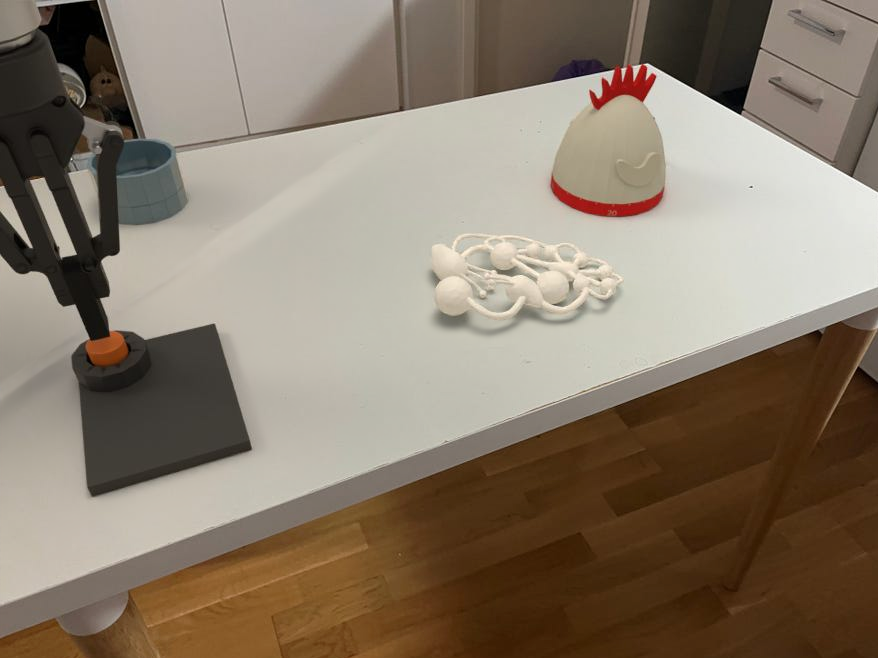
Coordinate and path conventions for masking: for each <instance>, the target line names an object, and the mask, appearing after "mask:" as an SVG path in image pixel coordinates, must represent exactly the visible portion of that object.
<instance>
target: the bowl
mask: <svg viewBox="0 0 878 658" xmlns="http://www.w3.org/2000/svg"><path fill="white" fill-rule="evenodd" d="M86 169H87V172H88V174H89V178H90V180H91V183H92V185H93V189H94V191H95V194H96V197H97V198H98V189H97V173H96V154H94V153H92V154H91V155H90V156H89V157H88V158H87V162H86ZM182 171H183V170H182V167H181V164H180V159H179V156H178V152H177V149H176V148H175V146H173V145H172V144H171V143H169V142H167V141H164V140H160V139H158V138H157V139H156V138H134V139H133V138H132V139H124V147H123V150H122V152H121V155H120V157H119V160H118V162H117V165H116V176H117V197H118V218H119V225H128V226H129V225H130V226H140V225H141V226H142V225H148V224H149V225H150V224H155V223H159V222H161V221H165V220H167V219H170V218H172V217H174V216H175V215H177V214H179V213H180V212H182V211H184V209H185V207H186V206H187V205H188V203H189V193H188V190H187V185H186V183H185V179H184V175H183V172H182Z"/></svg>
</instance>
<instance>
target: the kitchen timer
mask: <svg viewBox="0 0 878 658" xmlns="http://www.w3.org/2000/svg"><path fill="white" fill-rule="evenodd" d="M647 75H648V66H647V65H645V64H644V63H641V64H640V67H639V69H638V72H637V73H636V76H635V77H634V67H633V66H632V65H631V64H629V63H627V65H626V68H625V72H624V75H623V71H622V68H621V67H619V66H618V65H616V66H615V68H614V70H613V75H612V78H611V82H610V83H609V81H608V80H607V79H606V78H605V77H601V79H600V80H601V81H600V82H601V83H600V84H601V95H600V96H597V95H596V93H595V92H594V91H593V90H591V89H589V90H588V93H589V98H590V101H591V102H589V103H588V104H586V106H584V107H583V109H581V111H579V113H578V114H577V115H576V116H575V117H574V118H573V119H571V120H570V122H569V126H567V127H568V128H567V129H566V131H565V133H564V135H563V138H562V139H561V142H560V144H559V146H558V149H557V151H556V154H555V157H554V161H553V165H552V169H551V177H550V187H551V190H552V193H553V194H554V195H555V196H556V198H557V199H559V200H560V202H561V203H563V204H565V205H567V206H569V207H570V208H572V209H575V210H577V211H581V212H583V213H586V214H589V215H590V214H591V215H596V216H600V217H601V216H602V217H618V218H619V217H628V216H636V215H639V214H643V213H646V212H649V211H650V210H652V209H654V208H655V207H657V206H658V205H659V204H660V202H661V200H662V199H663V197H664V192H665V188H666V181H667V179H666V178H667V177H666V175H667V174H666V167H667V166H666V165H667V164H666V155H665V147H664V141H663V137H662V134H661V130H660V128H659V125H658V123H657V121H656V118H655V116H654V115H653V114H652V112H651V111H650V110H649V108H648V107H647V105H646V104H644V102H645V100H646V98H647V96H648V94H649V93H650V91H651V90H652V88H653V86H654V84H655V83H656V82H655V81H656V80H657V74H655V73H654V72H651V73H650V74H649V75H648V77H647Z"/></svg>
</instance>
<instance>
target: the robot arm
mask: <svg viewBox="0 0 878 658" xmlns="http://www.w3.org/2000/svg"><path fill="white" fill-rule="evenodd" d="M42 20H43V19H42V16H41V13H40V11H39V8H38V5H37V1H36V0H0V181H1V184H2V185H3V187H4V190H5V192H6V194H7V197H8V198H9V199H10V200H11V202H12V205H13V207H14V209H15V211H16V214H17V216H18V218H19V220H20V223H21V225H22V227H23V229H24V232H25V234H26V236H27V239H28V241H29V243H30V245H31V247H30V245H28V243H27V242H26V241H25V240H24V239H23V237H22V236H21V235H20V234H19V232H18V231H17V230H16V229H15V228H14V226H13V225H12V224H11V222H10V221H9V220H8V219H7V218H6V216H5V215H4V214H3V213H2V211H0V257H2V259H3V260H4V261H5V262H6V263H7V264H8V265H9V267H10V268H11V269H12V270H13V272H15V273H16V274H18V275H28V274H30V272H33V273H40V274H43V275H44V276H45V277H46V279H47V280H48V283H49V284H50V287H51V290H52V291H53V295H54V296H55V298H56V301H57V303H58V304H59V305H60V306H61V307H63V308H64V307H69V306H70V307H71V306H75V307H76V310H77V313H78V314H79V317H80V319H81V322H82V324H83V327H84V329H85V331H86V334H87V335H88V339H90V340H91V341H94V340H99V339H103V338H107V337H110V331H111V330H110V324H109V318H108V315H107V312H106V310H105V308H104V305H103V302H102V300H101V299H105V298H109V297H110V295H111V287H110V281H109V278H108V276H107V273H106V270H105V268H104V266H103V263H102V261H103V260H104V259H106V258H107V257H116V256H117V255H119V253H120V251H121V241H120V224H119V218H118V197H117V176H116V165H117V162H118V160H119V157H120V155H121V152H122V150H123V147H124V140H125V139H124V134H123V130H122V126H121V125H120V124H119V123H118V122H117V121H115V120H108V121H106V122H101V121H99V120H96V119H94V118H91V117H88V116H85V115H84V112H83V109H82V108H81V106H80V105H79V104H78V103H77V102H75V100H73V99H72V97H71V96H70V93H69V92H68V90H67V87H66V85H65V82H64V79H63V76H62V73H61V70H60V67H59V64H58V62H57V59H56V55H55V54H54V51H53V47H52V45H51V42H50V38H49V36H48V35H47V34H46V33H45V32H43V31H42V30H41V29H40V28H39V26H40V25H41V23H42ZM81 136H83V137H85V138H86V141H87V148H88V150H89V151H90V152H91V153H92V154H93V153H94V154H96V173H97V189H98V197H97V202H98V203H97V204H98V218H99V233H98V234H97V235H95V236H93V235H92V231H91V229H90V227H89V224H88V221H87V218H86V215H85V214H84V211H83V208H82V205H81V202H80V201H79V200H80V199H79V198H78V195H77V193H76V189H75V187H74V183H73V181H72V180H71V177H70V174H69V170H68V166H69V164H70V162H71V160H72V158H73V156H74V153H75V151H76V149H77V146H78V143H79V141H80V139H81ZM33 177H38V178H39V177H41V178H44V181H45V183H46V185H47V188H48V190H49V191H50V192H51V194H52V197H53V200H54V202H55V205H56V207H57V210H58V212H59V214H60V217H61V219H62V222H63V224H64V227H65V229H66V232H67V234H68V237H69V239H70V242H71V244H72V246H73V249H74V251H75V253H76V254H72V255H67V256H62V257H61V250H60V245H57V242H56V240H55V238H54V235H53V232H52V230H51V227H50V225H49V223H48V219H47V218H46V215H45V213H44V211H43V207H42V206H41V203H40V201H39V199H38V196H37V194H36V192H35V188H34V187H33V184H32V182H31V178H33Z"/></svg>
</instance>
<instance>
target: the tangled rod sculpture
mask: <svg viewBox="0 0 878 658" xmlns="http://www.w3.org/2000/svg"><path fill="white" fill-rule="evenodd" d="M464 239H484V241H483V244H481V243H480V244H477V245H472V246H471V247H469V248H466V249H465V250H464V251H463V252H462V253H460V252H458V251H456V249H457V246H458V244H459V242H460V241H462V240H464ZM507 240H508V241H509V240H510V241H511V240H513V241H520V242H524V243H527V245H526V247H525V248H519V249H518V248H517V247H516V246H515V245H514V244H513V243H511V242H507ZM495 241H497V242H498V243H496V244H495V245H494V246H493V245H492V244H491V245H490V243H491V242H495ZM563 247H566V248H570V249H572V250H574V251H575V252H576V253H575V254H574V255H573V256H572V259H571V260H572V261H564V260H563V259H562V257H561V256H560V254H561V253H560V248H563ZM542 248H543V252H542ZM479 252H486V253H490V255H489V256H490V261H491V264H492V266H494V267H495V268H496V269H498V270H500V271H508V270H511V269H513V268H515V267H517V268H519V269H520V270H522V271H523V272H524V273H526V274H528V275H530V276H532V277H533V278H535V279H536V280H535V281H536V282H535V281H534V280H532V279H531V278H529V277H528V276H526V275H523V274H517V275H514V276H509V275H505V274H498V272H497V270H495V269H492V270H489V269H486V268H482V267H479V266H475V265H473V264H472V263H471V264H470V263H468V262H467V259H468V258H469V257H471V256H472V255H473V254H475V253H479ZM542 253H543V257H544V259H546V260H547V261H544V260H543V259H538V258H539V257H540V255H541V254H542ZM429 257H430V266H431V269H432V271H433V272H434V273H435V275H436V277H437V278H438V279H439V280H440V281H439V282H438V284H437V285H436V287H435V289H434V293H433V300H434V304H435V306H436V307H437V309H438V310H439V311H440V312H441V313H443V314H445V315H447V316H452V317H453V316H460V315H463V314H464V313H466V312H467V311H468V310H469V309H470V308H471V310H473V311H475V313H477V314H478V315H480V316H482V317H483V318H486V319H489V320H492V321H504V320H508V319H511V318H513V317H514V316H516V315H517V314H518V312H519V311H520V310H521V309H522V308H523V306H524V304H525V305H528V306H530V307H533V308H536V309H540V308H542V309H543V310H545V311H547V312H550V313H551V314H556V315H567V314H569V313H572V312H574V311H575V310H576V309H578V308H579V307H580V306H581V305H582V304H584V303H585V301H586V300H587V298H588V297H589V295H591V296H592V297H594V298H596V299H598V300H608V299H609V298H610V297H611V296H612V294H614V293H615V292H616V290H617V286H619V285H621V284H623V283H624V280H625V278H624V276H621V275H620V274H618V273H615V272H614V269H613V267H612V266H611V265H609V264H608V263H607V262H606V261H604V260H602V259H598V258H596V257H590V256H588V255H587V254H586V252H583V251H581V250H580V248H579V247H577V246H576V245H574V244H573V243H570V242H560V243H557V244H556V245H555V244H546V243H544V242H541V241H537V240H535V239H531V238H528V237H524V236H520V235H513V234H511V235H509V234H507V235H505V234H504V235H493V234H486V233H463V234H461V235H460V234H459V235H458V236H457V237H456V238H454V240H453V241H452V244H451V248H450V247H449V246H447V245H446V244H442V243H436V244H434V245H433V246H431V249H430V254H429ZM523 262H524V263H523ZM589 262H592V263H596V264H599V265H600V266H599V267H598V268H597V269H583V268H584V267H586V266H587V265H589ZM525 263H527V264H531V265H535V266H538V267H543V268H545V269H547V271H544V272H542V273H539V272H538V271H536V270H534V269H533V268H531V267H530V266H528V265H527V264H525ZM470 269H471V270H470ZM472 270H473V271H472ZM474 271H476V272H480V273H483V275H480V274H478V273H476V272H474ZM468 275H470V276H472V277H475V278H476V279H478V280H480V281H481V282H483V283H484V284H485V286H487V288H488V290H490V291H493V290H494V289H496V284H502V285H505V295H506V297H507V298H508V299H509V300H510V301H513V302H515V303H514V304H513V306H512V307H510V309H508V310H507V311H503V312H494V311H491V310H488V309H487V308H485V307H483V306H482V305H481V304H479V303H478V302H477V301H475V300H474V291H473V288H472V286H473V287H474V288H475V289H476V290H477V292H478V296H479V297H480V298H482V299H485V298H486V297H487V296H488V292H487V290H484V289H482V288H481V287H480V285H479V284H477V283H476V282H475V281H474V280H472V278H469V277H468ZM592 277H598V280H597V279H594V278H592ZM614 278H615V279H617V280H616V281H615V279H614ZM599 280H601V281H599ZM571 282H572V288H573V291H575V293H578V294H580V295H579V296H578V297H577V298H576V299H575V300H574V301H572V302H571V303H570V304H569V305H566V306H559V305H556V304H559V303H561V302H563V301H564V300H565V299H566V297H567V296H568V295H569V291H570V283H571ZM591 286H594V287H597V288H599V290H600V292H601V293H602V294H599V293H597V292H595V291H594V290H593V289H591V288H590V287H591ZM603 294H604V295H603Z"/></svg>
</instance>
